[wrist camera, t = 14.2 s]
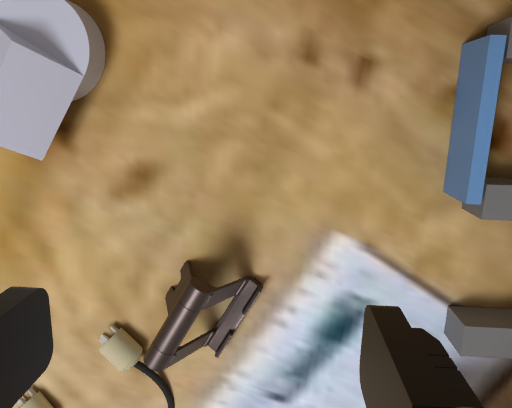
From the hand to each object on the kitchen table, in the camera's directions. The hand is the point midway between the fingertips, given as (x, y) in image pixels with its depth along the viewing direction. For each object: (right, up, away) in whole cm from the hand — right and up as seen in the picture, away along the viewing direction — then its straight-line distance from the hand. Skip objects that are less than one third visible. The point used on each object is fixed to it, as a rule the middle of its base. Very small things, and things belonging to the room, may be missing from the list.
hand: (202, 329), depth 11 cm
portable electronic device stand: (-4, -6, +33) cm, 34 cm away
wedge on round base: (-18, +16, +29) cm, 37 cm away
